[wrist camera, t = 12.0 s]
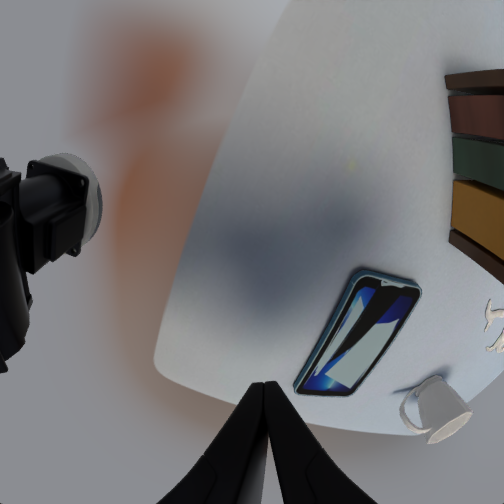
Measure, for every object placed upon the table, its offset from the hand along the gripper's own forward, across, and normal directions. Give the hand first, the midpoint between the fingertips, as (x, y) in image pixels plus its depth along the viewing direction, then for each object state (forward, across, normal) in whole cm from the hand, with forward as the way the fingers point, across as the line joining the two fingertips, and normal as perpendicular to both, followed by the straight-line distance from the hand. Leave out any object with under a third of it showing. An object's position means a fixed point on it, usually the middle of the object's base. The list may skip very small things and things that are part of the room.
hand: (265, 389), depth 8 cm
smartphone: (+12, +8, -11) cm, 18 cm away
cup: (+13, +19, -23) cm, 32 cm away
